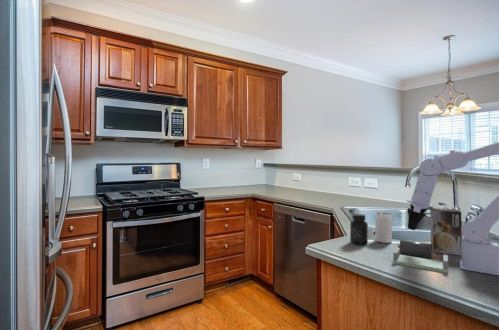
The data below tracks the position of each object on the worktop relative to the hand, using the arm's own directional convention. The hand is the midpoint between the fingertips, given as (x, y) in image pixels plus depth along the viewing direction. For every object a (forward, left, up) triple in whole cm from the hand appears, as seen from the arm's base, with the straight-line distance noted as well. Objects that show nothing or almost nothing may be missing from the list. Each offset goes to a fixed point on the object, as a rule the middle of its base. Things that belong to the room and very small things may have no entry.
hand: (412, 226), depth 105 cm
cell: (-1, 0, -11) cm, 11 cm away
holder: (-3, +10, -10) cm, 15 cm away
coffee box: (-10, -11, -11) cm, 19 cm away
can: (+12, -13, -11) cm, 21 cm away
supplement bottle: (+20, -4, -11) cm, 23 cm away
